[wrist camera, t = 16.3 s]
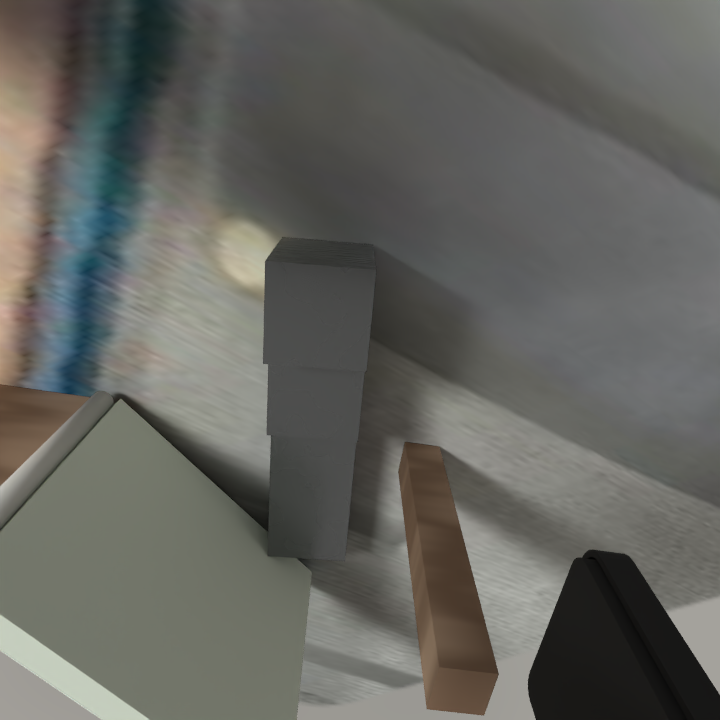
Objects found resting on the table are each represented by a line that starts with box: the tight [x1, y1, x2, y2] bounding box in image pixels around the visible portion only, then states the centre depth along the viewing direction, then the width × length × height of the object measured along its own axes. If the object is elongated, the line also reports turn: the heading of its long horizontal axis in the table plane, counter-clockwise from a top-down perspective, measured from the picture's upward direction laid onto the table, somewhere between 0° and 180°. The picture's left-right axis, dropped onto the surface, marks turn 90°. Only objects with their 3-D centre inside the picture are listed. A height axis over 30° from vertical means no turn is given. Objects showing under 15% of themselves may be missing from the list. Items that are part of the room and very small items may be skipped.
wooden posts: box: [0, 385, 499, 715], centre depth 22 cm, size 23×2×13 cm, turn 81°
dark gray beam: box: [263, 237, 376, 561], centre depth 25 cm, size 16×4×5 cm, turn 175°
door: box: [0, 391, 312, 720], centre depth 24 cm, size 15×2×12 cm, turn 40°
